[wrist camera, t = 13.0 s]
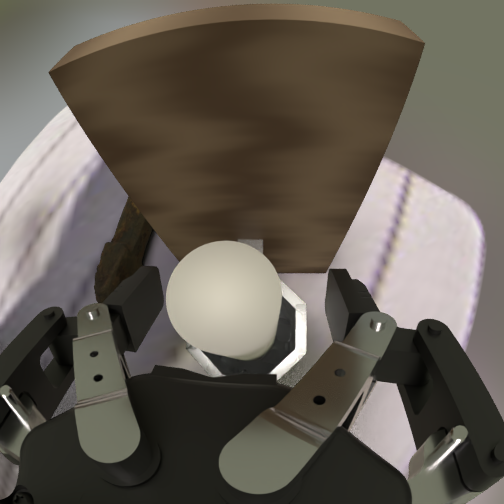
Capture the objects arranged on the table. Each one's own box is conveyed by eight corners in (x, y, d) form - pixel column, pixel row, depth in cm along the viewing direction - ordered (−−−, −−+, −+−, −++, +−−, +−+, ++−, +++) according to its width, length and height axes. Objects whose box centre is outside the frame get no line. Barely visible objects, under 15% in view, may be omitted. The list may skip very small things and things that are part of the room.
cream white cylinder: (224, 360, 19) (160, 348, 8) (226, 312, 20) (173, 240, 9) (274, 361, 18) (281, 356, 7) (275, 313, 20) (281, 241, 9)
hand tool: (158, 157, 30) (145, 130, 26) (188, 158, 30) (177, 129, 26) (98, 314, 23) (70, 302, 19) (131, 325, 23) (104, 315, 19)
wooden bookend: (187, 271, 24) (48, 72, 6) (195, 212, 27) (113, 13, 8) (325, 273, 23) (424, 43, 5) (320, 212, 26) (367, -5, 7)
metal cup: (204, 378, 19) (184, 382, 14) (212, 264, 22) (197, 236, 18) (297, 382, 18) (305, 387, 14) (297, 264, 22) (303, 236, 17)
